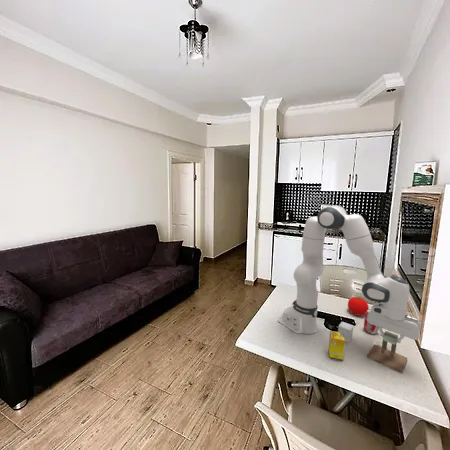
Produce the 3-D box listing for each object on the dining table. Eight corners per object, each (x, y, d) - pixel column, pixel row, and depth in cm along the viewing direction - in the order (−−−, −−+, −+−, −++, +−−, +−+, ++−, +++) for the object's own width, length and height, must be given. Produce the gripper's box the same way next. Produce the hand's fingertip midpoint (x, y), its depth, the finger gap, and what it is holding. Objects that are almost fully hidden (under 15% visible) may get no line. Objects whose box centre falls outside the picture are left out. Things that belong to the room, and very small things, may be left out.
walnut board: (366, 357, 119) (367, 355, 119) (373, 346, 128) (374, 343, 128) (401, 373, 110) (402, 371, 110) (407, 360, 118) (407, 357, 118)
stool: (383, 347, 122) (385, 330, 120) (395, 352, 118) (398, 335, 117) (380, 352, 118) (383, 335, 117) (393, 357, 115) (395, 339, 113)
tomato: (351, 317, 155) (353, 301, 153) (344, 307, 167) (346, 293, 165) (370, 319, 153) (372, 303, 152) (362, 309, 165) (364, 294, 164)
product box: (349, 343, 130) (350, 330, 129) (336, 338, 134) (338, 325, 132) (352, 337, 134) (353, 325, 133) (340, 333, 138) (341, 321, 137)
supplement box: (327, 350, 124) (330, 330, 122) (341, 353, 122) (343, 332, 120) (329, 358, 118) (331, 337, 116) (343, 361, 116) (345, 340, 114)
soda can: (379, 336, 136) (382, 315, 134) (365, 334, 138) (368, 314, 136) (374, 328, 143) (377, 309, 141) (361, 327, 145) (364, 307, 143)
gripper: (423, 318, 110) (418, 346, 112) (371, 301, 124) (368, 327, 126) (421, 323, 105) (416, 353, 108) (367, 306, 119) (364, 332, 122)
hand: (390, 339), depth 117 cm, fingers closed on stool, 5 cm apart
